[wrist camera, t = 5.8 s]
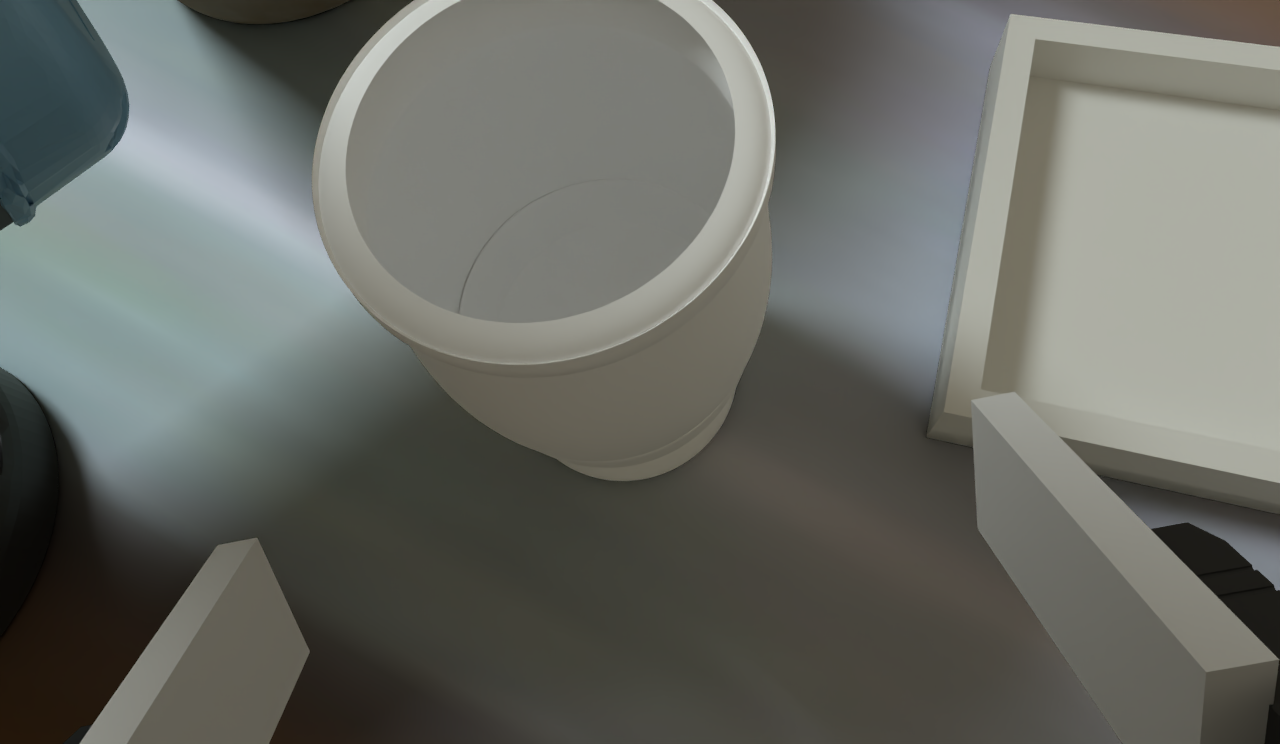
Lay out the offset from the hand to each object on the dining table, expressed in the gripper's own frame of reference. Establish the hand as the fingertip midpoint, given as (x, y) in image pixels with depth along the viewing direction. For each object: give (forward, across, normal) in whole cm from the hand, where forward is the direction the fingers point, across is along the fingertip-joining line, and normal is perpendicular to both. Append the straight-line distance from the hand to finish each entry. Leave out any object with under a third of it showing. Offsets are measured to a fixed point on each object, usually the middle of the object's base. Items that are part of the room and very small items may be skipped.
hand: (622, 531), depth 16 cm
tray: (+16, +20, -5) cm, 26 cm away
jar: (+17, 0, -4) cm, 17 cm away
